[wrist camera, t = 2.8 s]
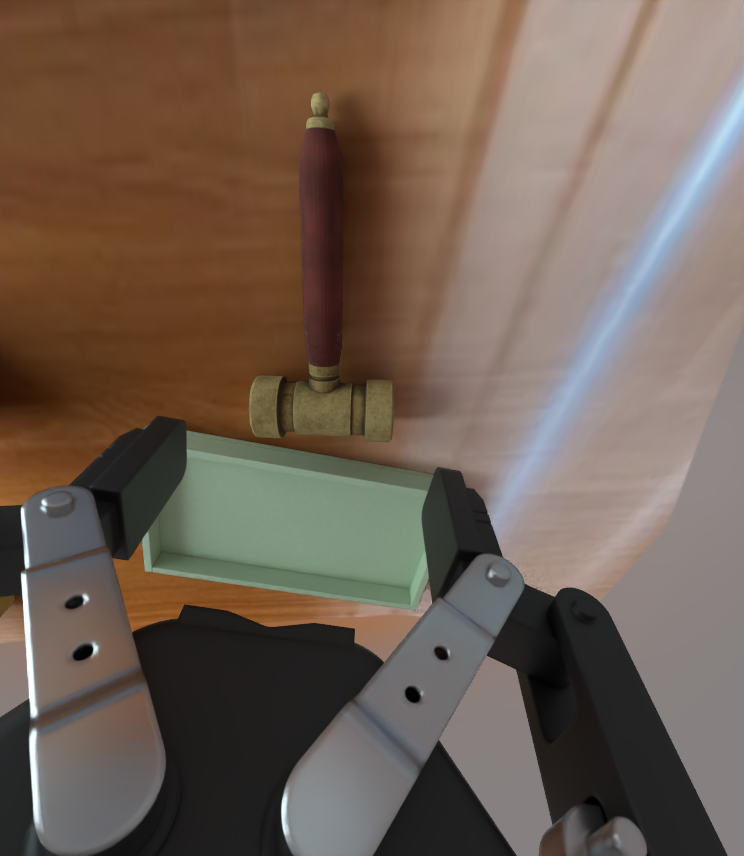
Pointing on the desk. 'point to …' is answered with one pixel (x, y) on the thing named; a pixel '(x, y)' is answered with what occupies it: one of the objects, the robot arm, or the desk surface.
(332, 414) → the gavel
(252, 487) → the tray
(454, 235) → the desk surface
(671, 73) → the desk surface
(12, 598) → the paper tube
